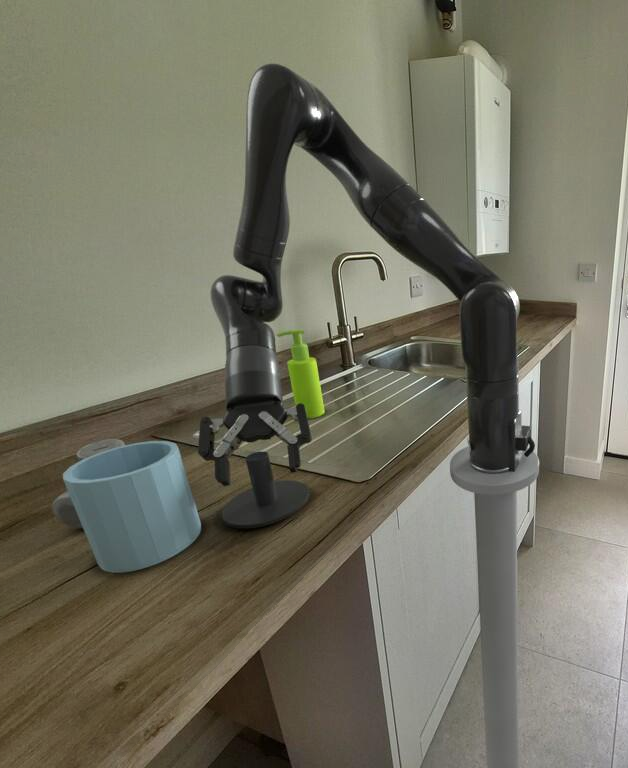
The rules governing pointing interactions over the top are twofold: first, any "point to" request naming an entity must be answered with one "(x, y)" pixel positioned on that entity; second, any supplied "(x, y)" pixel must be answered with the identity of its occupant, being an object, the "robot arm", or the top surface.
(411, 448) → the top surface
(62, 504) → the pipe fitting
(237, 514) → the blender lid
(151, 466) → the light blue cup
